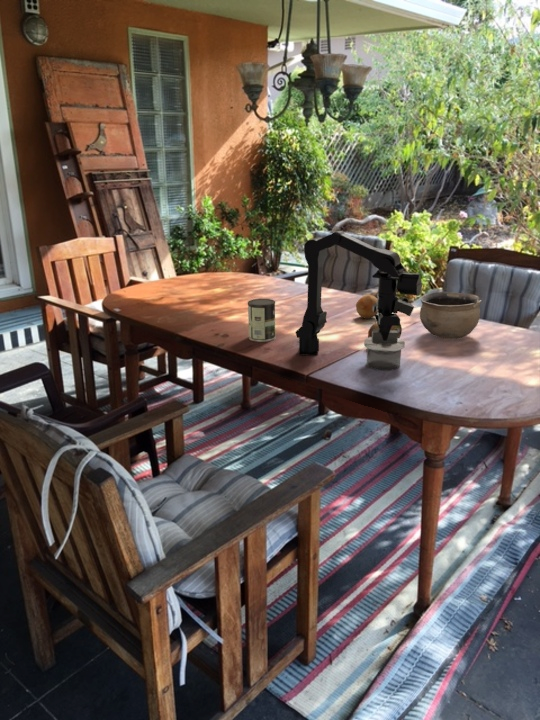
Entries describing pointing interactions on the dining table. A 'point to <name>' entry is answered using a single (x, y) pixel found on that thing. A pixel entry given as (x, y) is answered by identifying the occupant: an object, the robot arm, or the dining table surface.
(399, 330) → the tin
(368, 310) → the onion
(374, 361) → the pot
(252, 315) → the coffee can
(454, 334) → the ceramic bowl
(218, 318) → the dining table surface
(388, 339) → the lid
